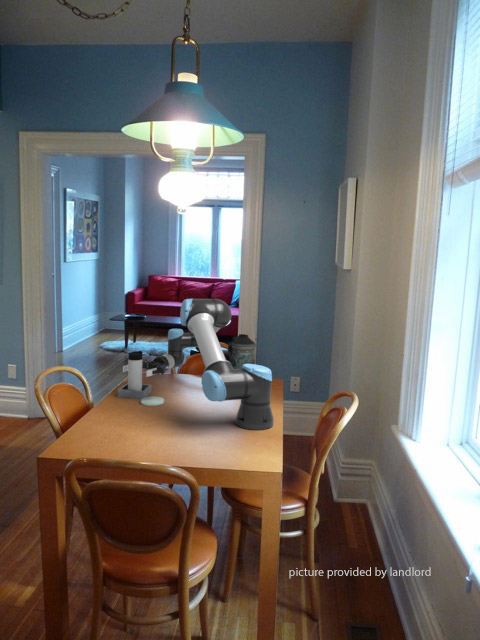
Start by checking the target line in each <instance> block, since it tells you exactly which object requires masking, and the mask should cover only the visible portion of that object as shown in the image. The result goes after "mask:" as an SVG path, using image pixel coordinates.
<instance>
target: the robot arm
mask: <svg viewBox="0 0 480 640" xmlns="http://www.w3.org/2000/svg"><path fill="white" fill-rule="evenodd" d="M179 315H180V317H179V319H180V325H181V326H184V327H187V329H188V331H189V332H184V330H183V329H182V328H171V329H168V332H167V354H163V355H158V356H156V357H155V358H153V360H151V361H148V360H147V359H146V360H142V369H145V370H146V371H145V372H146V374H145V375H146V376H145V377H146V378H147V377H148V378H149V377H151V376H155V375H159V374H161V375H164V374H165V373H166V372H168V370H171V369H174V368H178V367H181V366H183V365H184V364H186V361H187V355H186V353H185V352H184V350H183V349H185V348H198V349H199V352H200V356H201V358H202V359H201V360H202V361H203V364H204V367H205V368H204V370H203V373H202V374H201V386H202V387H201V388H202V391H203V394H204V396H205V398H206V399H207V400H208V401H210V402H224V401H237V400H240V403H239V406H238V410H237V412H236V415H235V425H236V426H239V427H240V428H242V429H247V430H253V431H255V430H256V431H258V430H260V431H261V430H268V429H270V428H272V427H274V425H275V424H274V423H275V422H274V421H275V419H274V415H273V411H272V406H271V399H272V398H271V397H272V382H273V373H272V370H271V369H270V368H269V367H267V366H264V365H259V364H256V365H255V364H243V366H242V369H233V366H232V364H231V363H230V362H231V361H230V360H227V359H226V357H225V354H224V351H223V349H222V346H221V343H220V342H219V339H218V336H217V334H216V333H217V332H218V331H219V330H220V329H222V328H225V327H226V326H227V325H229V323H230V321H231V320H232V310H231V308H230V306H229V305H228V304H227V302H225V301H224V300H222V299H218V298H186V299H184V300H183V301H182V303H181V306H180V314H179ZM122 372H123V373H126V372H127V373H128V364H126V365H123V366H122Z"/></svg>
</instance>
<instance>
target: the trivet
mask: <svg viewBox="0 0 480 640" xmlns="http://www.w3.org/2000/svg"><path fill="white" fill-rule="evenodd" d="M140 404H141V405H144V406H146V407H157V406H162V405H164V404H165V398H163V397H161V396H154V395H153V396H150V395H149V396H147V397H144V398H142V399H140Z"/></svg>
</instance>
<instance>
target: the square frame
mask: <svg viewBox="0 0 480 640" xmlns="http://www.w3.org/2000/svg"><path fill="white" fill-rule="evenodd" d="M152 393H153V384H145V383H142V391H135V390H128V382H127V383H126V384H124V385H122V386H121V387H119V388H118V389H117V398H120V399H121V398H122V399H133V400H141V399H142V398H144V397H149V396H150V394H152Z"/></svg>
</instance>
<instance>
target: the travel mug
mask: <svg viewBox="0 0 480 640" xmlns="http://www.w3.org/2000/svg"><path fill="white" fill-rule="evenodd" d="M143 353H144V352H143V350H134V351H131V352H129V353H128V354H127V355H128V356H127V357H128V360H127V365H128V371H127V383H128V390H135V391H142V384H143V368H142V361H143Z"/></svg>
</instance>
